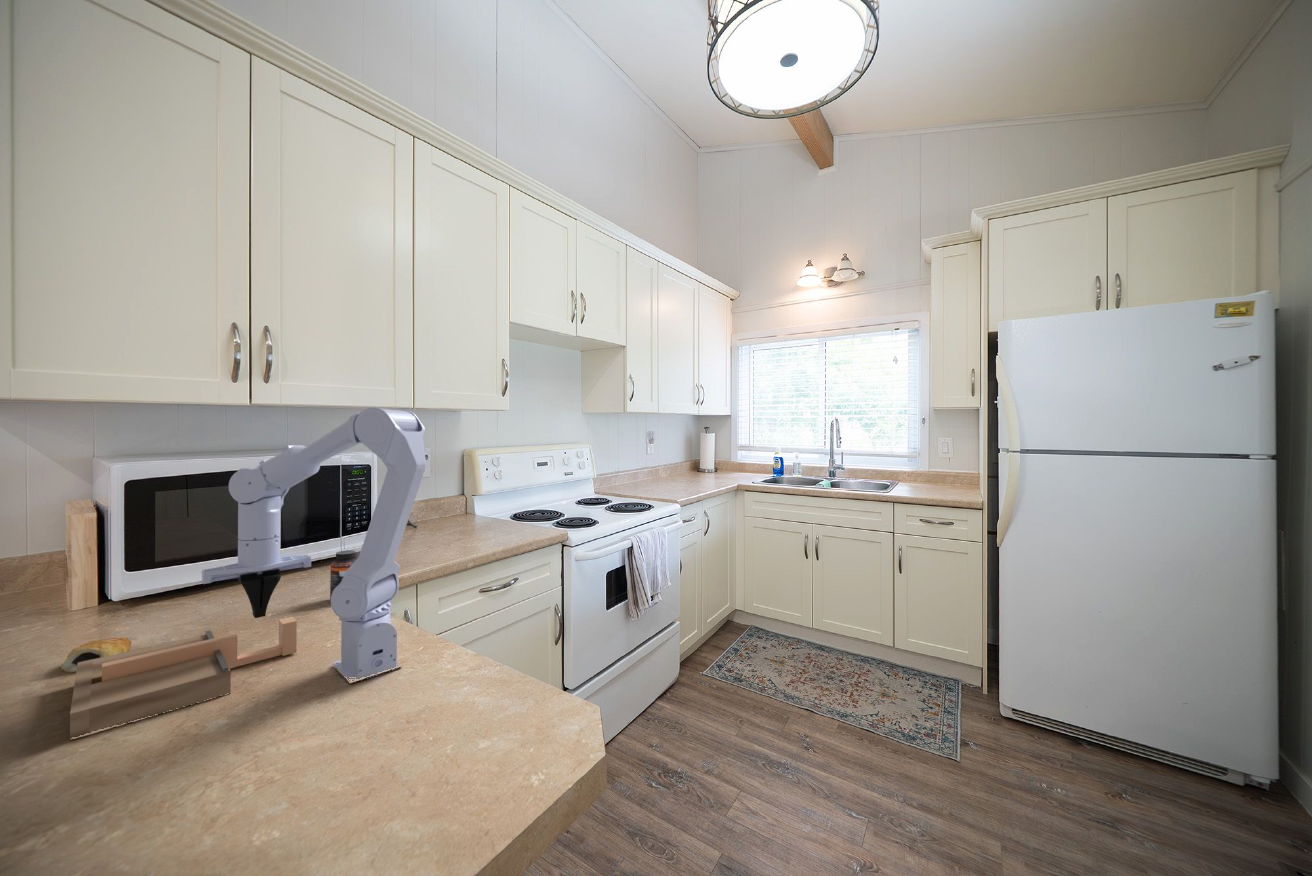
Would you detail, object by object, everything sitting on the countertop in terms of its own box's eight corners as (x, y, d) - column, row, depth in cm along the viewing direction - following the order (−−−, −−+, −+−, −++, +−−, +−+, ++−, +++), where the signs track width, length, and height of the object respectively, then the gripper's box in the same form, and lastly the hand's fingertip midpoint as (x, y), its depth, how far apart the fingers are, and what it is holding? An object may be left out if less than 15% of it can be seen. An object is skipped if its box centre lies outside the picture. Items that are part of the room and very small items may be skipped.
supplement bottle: (349, 603, 113) (349, 555, 113) (323, 603, 113) (324, 554, 113) (365, 595, 119) (365, 549, 119) (341, 594, 119) (341, 548, 119)
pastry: (94, 652, 88) (94, 630, 88) (144, 646, 91) (144, 625, 91) (56, 675, 79) (57, 652, 79) (113, 668, 82) (113, 645, 82)
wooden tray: (230, 693, 74) (230, 666, 74) (69, 740, 62) (69, 709, 62) (212, 652, 88) (212, 629, 88) (77, 684, 76) (77, 658, 76)
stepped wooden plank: (296, 652, 87) (296, 620, 87) (101, 703, 70) (101, 665, 70) (292, 647, 89) (292, 616, 89) (102, 696, 72) (102, 658, 72)
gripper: (304, 528, 92) (303, 599, 93) (199, 540, 82) (199, 621, 82) (314, 533, 88) (313, 609, 88) (205, 547, 77) (204, 632, 77)
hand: (259, 615), depth 85 cm, fingers closed
